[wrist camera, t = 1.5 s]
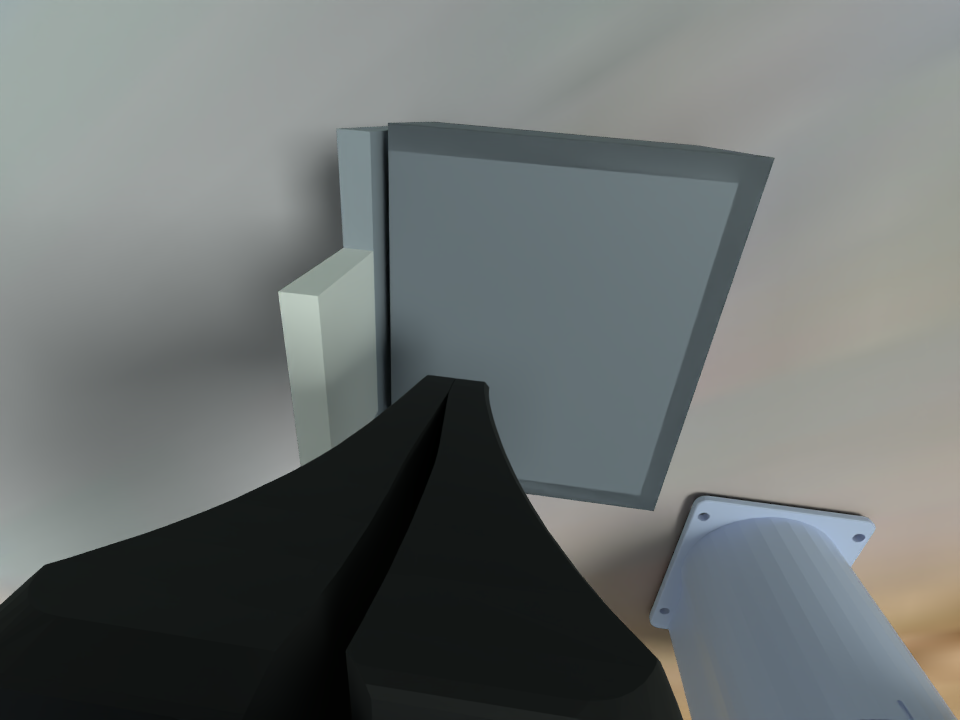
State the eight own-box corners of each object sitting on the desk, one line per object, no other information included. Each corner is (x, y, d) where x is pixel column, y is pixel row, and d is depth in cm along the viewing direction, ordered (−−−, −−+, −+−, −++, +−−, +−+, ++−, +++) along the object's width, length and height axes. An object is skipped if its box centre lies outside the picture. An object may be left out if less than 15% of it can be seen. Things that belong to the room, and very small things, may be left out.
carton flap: (416, 394, 21) (341, 567, 13) (398, 392, 21) (313, 563, 13) (421, 127, 16) (303, 136, 8) (397, 125, 16) (257, 132, 8)
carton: (626, 418, 21) (653, 511, 16) (425, 393, 21) (392, 475, 16) (700, 145, 16) (774, 157, 11) (433, 121, 16) (388, 123, 11)
